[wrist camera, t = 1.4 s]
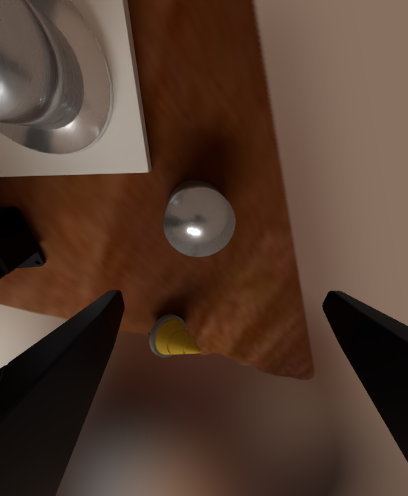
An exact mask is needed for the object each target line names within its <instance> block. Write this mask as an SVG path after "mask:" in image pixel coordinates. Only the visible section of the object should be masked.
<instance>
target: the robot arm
mask: <svg viewBox="0 0 408 496" xmlns="http://www.w3.org/2000/svg"><path fill="white" fill-rule="evenodd" d="M11 211H13V212H14V214H13V213H12V212H11ZM39 261H40V262H39ZM45 263H46V261H45V258H44V256H43V255H42V253H41V251H40V249H39V247H38V245H37V243H36V241H35V239H34V237H33V235H32V233H31V231H30V229H29V227H28V225H27V223H26V222H25V220H24V218H23V216H22V214H21V212H20V210H19V209H18V208H16V207H13V206H10V207H0V279H1V278H2V277H4V276H5V275H6V274H9V273H10V272H12V271H13V270H15V269H16V268H25V267H38V266H42V265H44V264H45ZM322 307H323V310H324V313H325V315H326V317H327V319H328V321H329V323H330V325H331V328H332V330H333V332H334V334H335V336H336V338H337V340H338V342H339V344H340V346H341V348H342V350H343V352H344V353H345V355H346V356H347V358H348V360H349V362H350V364H351V365H352V367H353V369H354V370H355V372H356V374H357V376H358V377H359V379H360V381H361V382H362V384H363V386H364V388H365V389H366V391H367V393H368V395H369V396H370V398H371V400H372V401H373V403H374V405H375V407H376V408H377V410H378V412H379V413H380V415H381V417H382V419H383V420H384V422H385V424H386V425H387V427H388V429H389V431H390V433H391V434H392V436H393V438H394V439H395V441H396V443H397V444H398V446H399V448H400V450H401V451H402V453H403V455H404V457H405V458H406V460H407V462H408V326H406V325H405V324H403V323H401V322H399V321H397V320H395V319H393V318H391V317H389V316H388V315H386V314H384V313H382V312H380V311H378V310H376V309H374V308H372V307H370V306H368V305H366V304H364V303H363V302H360V301H359V300H357V299H354V298H353V297H351V296H349V295H347V294H345V293H343V292H341V291H330V292H328V294H327V296H326V298H325V300H324V302H323V305H322ZM123 312H124V301H123V297H122V293H121V291H119V290H110V291H108V292H107V293H105V294H104V295H103V296H101V297H100V298H98V299H97V300H96V301H94V302H93V303H91V304H90V305H89V306H87V307H86V308H84V309H83V310H82V311H80V312H79V313H77V314H76V315H75V316H73V317H72V318H70V319H69V320H68V321H67V322H65V323H63V324H62V325H61V326H59V327H58V328H56V329H55V330H54V331H52V332H51V333H49V334H48V335H47V336H45V337H44V338H42V339H41V340H40V341H38V342H37V343H36V344H34V345H33V346H31V347H30V348H28V349H27V350H26V351H24V352H23V353H22V354H20V355H19V356H17V357H16V358H15V359H13V360H12V361H10V362H9V363H8V365H5V366H3V367H2V368H0V496H55V495H56V493H57V490H58V488H59V485H60V483H61V480H62V478H63V475H64V472H65V470H66V468H67V465H68V462H69V460H70V457H71V455H72V452H73V449H74V447H75V445H76V442H77V439H78V437H79V434H80V432H81V429H82V426H83V424H84V422H85V419H86V416H87V414H88V411H89V409H90V406H91V404H92V401H93V398H94V396H95V394H96V391H97V388H98V386H99V383H100V381H101V378H102V376H103V373H104V371H105V368H106V366H107V363H108V361H109V358H110V355H111V353H112V350H113V347H114V344H115V341H116V337H117V334H118V330H119V327H120V323H121V319H122V316H123Z"/></svg>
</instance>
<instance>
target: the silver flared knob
mask: <svg viewBox="0 0 408 496" xmlns="http://www.w3.org/2000/svg"><path fill="white" fill-rule="evenodd" d="M234 229H235V215H234V211H233V209H232V207H231V205H230V203H229V202H228V201H227V200H226V199H225V198H224V197H223V196H222V194H221V193H220V192H219V191H218V190H217V189H216V188H215V187H214V186H213V185H211V184H210V183H208V182H205V181H202V180H189V181H185V182H183V183H181V184H179V185H178V186H177V187H176V188H175V189H174V190H173V191H172V193H171V194H170V196H169V199H168V203H167V208H166V212H165V217H164V232H165V235H166V237H167V239H168V241H169V243H170V244H171V245H172V246H173V247H174V248H175V249H176V250H178V251H179V252H181V253H183V254H185V255H188V256H193V257H203V256H208V255H211V254H214V253H216V252H218V251H219V250H221V249H222V248H223V247H224V246H225V245H226V244H227V243H228V242H229V240H230V239H231V237H232V235H233V233H234Z"/></svg>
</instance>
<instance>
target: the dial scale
mask: <svg viewBox="0 0 408 496" xmlns="http://www.w3.org/2000/svg"><path fill="white" fill-rule="evenodd" d="M32 1H33V2H34V3H35V4H36V5H37V6H38V7H39V8H40V9H41V10H42V11H43V12H44V13H45V15H46V16H47V17H48V18H49V19H50V20H51V21H52V22H53V23H54V24H55V25H56V26H57V27H58V28H59V29H60V31H61V32H62V33H63V35H64V36H65V37H66V39H67V41H68V42H69V44H70V45H71V47H72V49H73V51H74V53H75V55H76V57H77V60H78V62H79V65H80V68H81V72H82V76H83V83H84V98H83V104H82V107H81V110H80V112H79V114H78V115H77V117H76V118H75V119H74V120H73V121H72V122H71V123H70V124H68V125H67V126H65V127H63V128H59V129H52V130H48V129H39V128H33V127H26V126H20V125H14V124H7V123H1V122H0V177H14V176H46V175H78V174H110V173H142V172H150V171H151V170H152V168H151V161H150V154H149V147H148V140H147V133H146V127H145V120H144V113H143V106H142V99H141V92H140V85H139V78H138V71H137V64H136V57H135V50H134V43H133V36H132V29H131V22H130V15H129V8H128V1H127V0H32Z"/></svg>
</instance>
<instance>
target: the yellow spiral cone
mask: <svg viewBox="0 0 408 496" xmlns="http://www.w3.org/2000/svg"><path fill="white" fill-rule="evenodd" d="M148 335H150V337H149V342H150V347H151V349H152V351H153V352H154V353H156V354H157V355H158V356H160V357H164V358H166V357H170V356H172V355H174V354H192V353H199V352H200V353H202V351H201V349H200V348H199V347H198V345H197V344H196V342H195V341H194V339H193V338H192V337H191V335H190V334H189V332H188V331H187V329H186V325H185V323H184V321H183V320H182V318H180V317H178V316H176V315H173V314H168V315H165V316H163V317H161V318H160V319H159V320H158V321H157V322H156V323H155V324H154V326H153V328H152V330H151V332H150V333H148Z"/></svg>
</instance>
